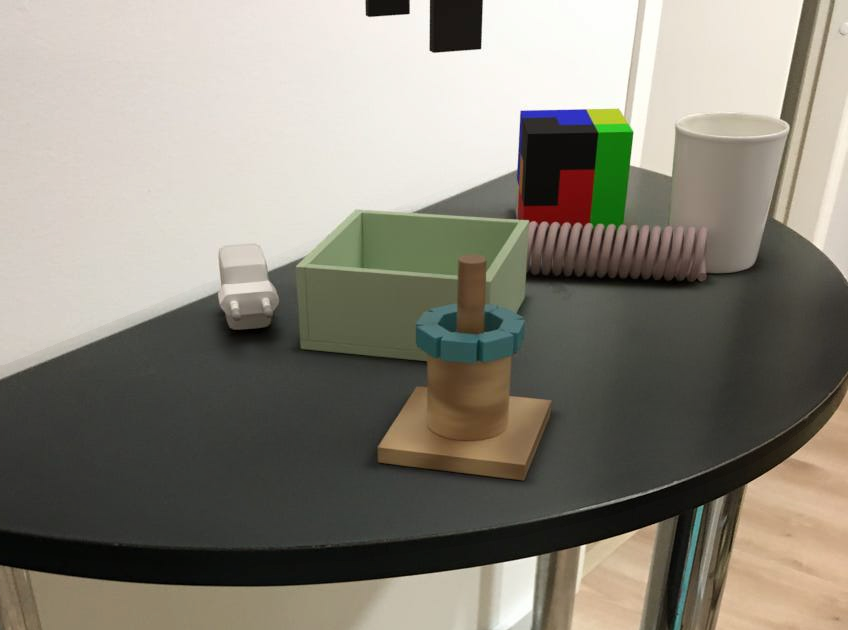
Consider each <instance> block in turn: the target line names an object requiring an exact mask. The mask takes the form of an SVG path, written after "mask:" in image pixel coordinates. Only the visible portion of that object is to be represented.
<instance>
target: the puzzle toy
mask: <svg viewBox="0 0 848 630" xmlns="http://www.w3.org/2000/svg"><path fill="white" fill-rule="evenodd" d="M519 113H520V114H519V129H518V130H519V132H518V133H519V134H518V150H517V151H518V152H517V168H516V169H517V170H516V190H515V207H514V212H515V217H516V220H529V223H530V222H532V221H535V222H536V223H537V224H538V226H539V225H540V224H541V223H542V222H547V223H548V224H549V227H550V226H551V224H552V223H554V222H558V223H559V224H560V227H562V225H563V224H564V223H566V222H567V223H570V224H571V227H572V228H573V226H574V224H576V223H580V224H581V225H582V227H583V229H584V226H585V225H586V224H588V223H591V224H592V225H593V227H594V230H595V227H596V226H597V225H598V224H603V225H604V227H605V232H606V229H607V227H608V225H610V224H614V225H615V227H616V233H617V230H618V228H619V226H620V225H622V224H623V225H625V224H624V222H625V216H626V215H625V214H626V205H627V197H628V195H627V194H628V187H629V179H630V178H629V177H630V168H631V160H632V150H633V141H634V140H633V139H634V133H635V132H634V130H633V129H632V127H631V125H630V123H629V122H628V121H627V119H626V118H625V116H624V114H623V113H622V112H621V109H620V108H583V109H581V108H580V109H576V108H575V109H538V110H537V109H536V110H535V109H532V110H531V109H529V110H520V111H519Z"/></svg>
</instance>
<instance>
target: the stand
mask: <svg viewBox="0 0 848 630" xmlns="http://www.w3.org/2000/svg"><path fill="white" fill-rule="evenodd" d="M486 265H487V259H486V257H484V256H482V255H477V254H468V255H463V256H461V257H459V259H458V285H457V328H456V332H454V333H465V334H476V335H477V334H481V333H485V332H487V331H484V317H485V291H486ZM512 357H513V356H510V357H506V358H502V359H498V360H494V361H490V362H486V363H482V362H480V361H479V360H477V362H476V363H475V364H472V363H462V362H452V361H442V360H440V357H438V358H433V357H432V356H430V355H429V354H427V361H426V386H418V385H417V386H416V387H415V388H414V389H413V391H412V392H411V394H410V396H409V397H408V399H407V400H406V402H405V404H404V405H403V406H402V408H401V410H400V411H399V413H398V415H397V416H396V417H395V419H394V420H393V422H392V424H391V426H390V427H389V428H388V430H387V432H386V433H385V435H384V436H383V438H382V440H381V441H380V443H379V444H378V445H377V463H378V464H386V465H387V464H388V465H395V466H403V467H410V468H418V469H426V470H435V471H443V472H451V473H452V472H453V473H459V474H468V475H474V476H475V475H476V476H484V477H491V478H499V479H507V480H508V479H509V480H516V481H525V479H526V478H527V476H528V472H529V470H530V467H531V464H532V462H533V459H534V457H535V455H536V452H537V450H538V447H539V444H540V441H541V439H542V437H543V434H544V432H545V430H546V427H547V425H548V422H549V419H550V417H551V410H552V400H551V399H542V398H532V397H525V396H524V397H523V396H514V395H513V396H512V395H511V378H512V376H511V375H512Z"/></svg>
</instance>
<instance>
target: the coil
mask: <svg viewBox="0 0 848 630" xmlns="http://www.w3.org/2000/svg"><path fill="white" fill-rule="evenodd" d="M662 230H663V231H662ZM662 232H663V233H662ZM684 232H685V230H684V228H683V227H681V226H679V227H677V229H676V231H675V235H674V241H673V229H672V227H671V226H668V225H667V226H665V228H664V229H662V227H661V226H660V225H655V226H653V228H652V230H651V227H650V226H649V225H647V224H645V225H642V226H641V228H640V229H639V226H638V225H637V224H632V225H630V227H629V229H628V226H627V225H626V224H622V225H620V226H619V228H618V230H617V233H616V227H615V225H614V224H610V225H608V227H607V229H606V232H605V227H604V225H603V224H598V225H597V226H596V227H595V230H594V227H593V225H592V224H591V223H588V224H586V225H585V226H584V229H583V227H582V225H581V224H580V223H576V224H574V226H573V228H572V227H571V224H570V223H567V222H566V223H564V224H563V225H562V227H560V224H559V223H558V222H554V223H552V224H551V226H550V227H549V224H548V223H547V222H542V223H541V224H540V225H539V226H538V224H537V223H536V222H535V221H532V222H530V223H529V233H528V250H527V266H526V275H527V273H529V270H530V272H531V274H532V275H533V276H536V275H538V274H539V273H540V269H541V273H542V274H543V276H548V275H550V273H551V269H552V274H553V276H556V277H558V276H560V275H561V274H562V270H563V275H564V276H565V277H571V276H572V274H573V271H574V275H575V277H578V278H580V277H582V276H583V275H584V273H585V276H587V278H593V277H594V275H595V273H596V276H597V277H598V278H599V279H602V278H604V277H605V276H606V275H607V277H608V278H610V279H614V278H616V277H617V276H618V277H619V278H621V279H623V280H624V279H627V277H628V276H629V277H630V278H631V279H632V280H637V279H639V277H640V276H641V278H642V280H645V281H646V280H649V279H650V278H651V277H652V278H653V280H654V281H660V280H661V279H662V278H663V279H664V280H665V281H667V282H669V281H672V280H673V279H675V280H676V281H677V282H682V281H683V280H685V279H686V280H687V281H688V282H690V283H691V282H694V281H696V279H697V280H698V281H699V282H704V281H706V280H707V278H708V276H707V273H706V244H707V233H708V230H707V228H705V227H702V228H700V230H699V233H698V238H697V244H696V249H695V239H696V229H695V228H694V227H690V228H688V230H687V234H686V239H685V245H684ZM672 242H673V246H672ZM683 248H684V250H683Z"/></svg>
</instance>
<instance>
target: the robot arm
mask: <svg viewBox="0 0 848 630" xmlns="http://www.w3.org/2000/svg"><path fill="white" fill-rule="evenodd" d="M364 3H365V16H366V17H368V18H372V17H373V18H374V17H388V16H389V17H390V16H403V15H405V16H406V15H410V14H411V0H365V2H364ZM483 9H484V0H429V42H428V43H429V45H428V46H429V48H428V49H429V52H431V53H434V54H436V53H437V54H439V53H450V52H451V53H452V52H463V51H464V52H465V51H477V50H482V41H483V39H482V38H483V12H484V11H483Z"/></svg>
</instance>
